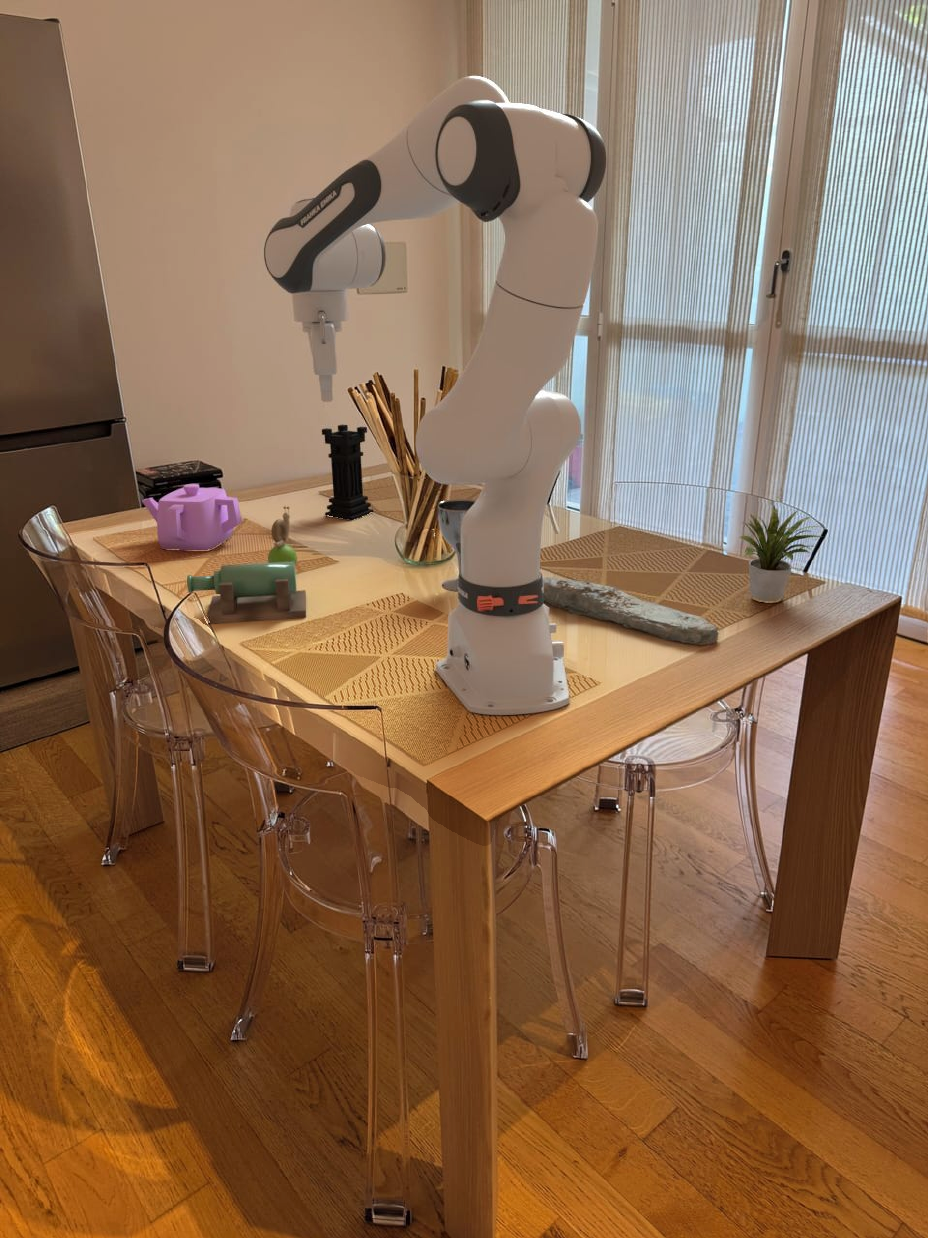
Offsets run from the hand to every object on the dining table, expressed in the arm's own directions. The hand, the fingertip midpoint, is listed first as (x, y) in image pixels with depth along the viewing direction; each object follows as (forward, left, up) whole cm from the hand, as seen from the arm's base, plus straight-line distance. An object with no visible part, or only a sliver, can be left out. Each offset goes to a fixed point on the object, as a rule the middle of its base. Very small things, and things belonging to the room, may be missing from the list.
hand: (326, 396), depth 151 cm
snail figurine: (+12, +10, -34) cm, 38 cm away
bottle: (-10, +16, -31) cm, 36 cm away
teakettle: (+36, +29, -34) cm, 58 cm away
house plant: (-20, -72, -34) cm, 82 cm away
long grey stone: (-22, -45, -35) cm, 61 cm away
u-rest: (-8, +14, -34) cm, 38 cm away
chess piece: (+51, -4, -34) cm, 62 cm away
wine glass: (-2, -22, -34) cm, 41 cm away
